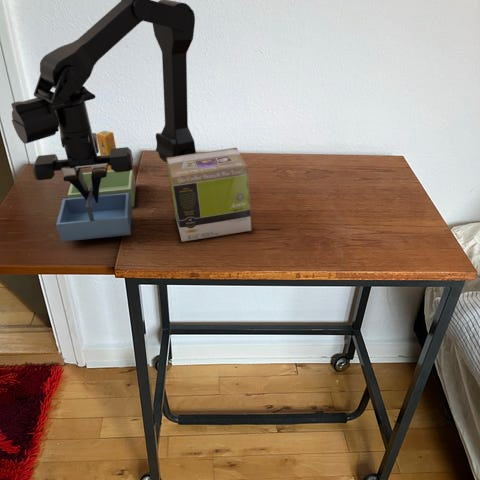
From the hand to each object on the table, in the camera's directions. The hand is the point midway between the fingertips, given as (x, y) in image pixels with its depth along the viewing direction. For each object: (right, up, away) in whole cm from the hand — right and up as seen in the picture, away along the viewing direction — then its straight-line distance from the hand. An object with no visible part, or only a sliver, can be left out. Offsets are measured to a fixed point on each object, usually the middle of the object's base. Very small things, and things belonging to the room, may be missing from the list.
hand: (93, 202), depth 111 cm
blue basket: (0, -4, +2) cm, 5 cm away
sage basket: (-2, +4, +16) cm, 16 cm away
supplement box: (-3, +14, +27) cm, 31 cm away
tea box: (+24, -4, +4) cm, 25 cm away
